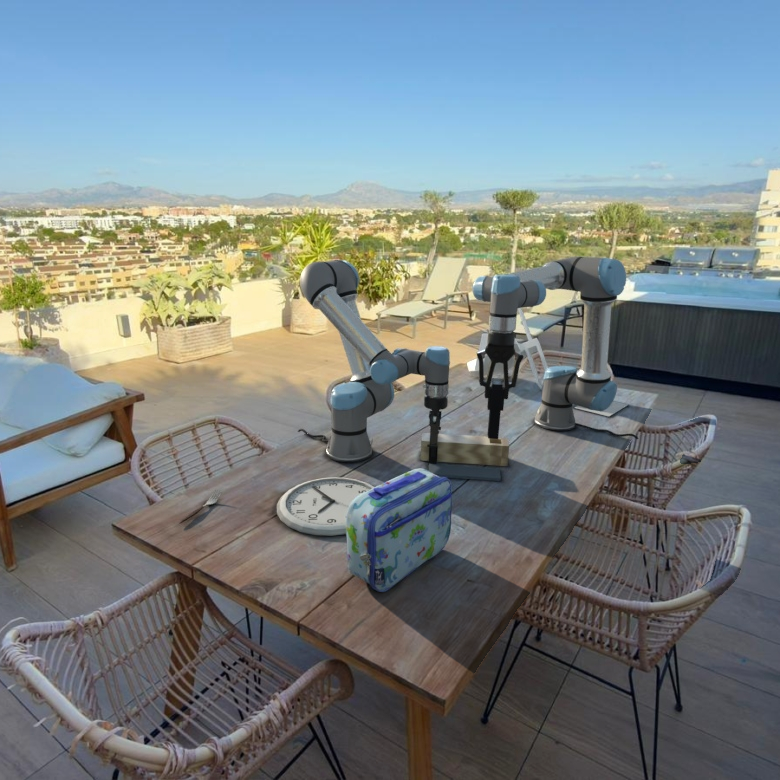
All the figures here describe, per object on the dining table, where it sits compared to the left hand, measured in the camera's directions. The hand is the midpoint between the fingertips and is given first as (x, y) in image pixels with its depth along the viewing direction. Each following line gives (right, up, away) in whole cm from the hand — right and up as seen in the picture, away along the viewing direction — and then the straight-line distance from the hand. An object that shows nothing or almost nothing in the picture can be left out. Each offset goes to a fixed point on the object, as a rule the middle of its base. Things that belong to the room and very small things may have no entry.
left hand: (433, 456), depth 174 cm
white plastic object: (+43, +25, +84) cm, 97 cm away
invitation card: (+77, +15, +52) cm, 94 cm away
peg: (+17, +8, -16) cm, 25 cm away
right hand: (+17, +17, -19) cm, 30 cm away
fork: (-65, -10, -35) cm, 74 cm away
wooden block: (+10, -1, -1) cm, 10 cm away
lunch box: (-12, -18, -56) cm, 60 cm away
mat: (+9, -4, -11) cm, 15 cm away
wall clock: (-30, -9, -31) cm, 45 cm away
